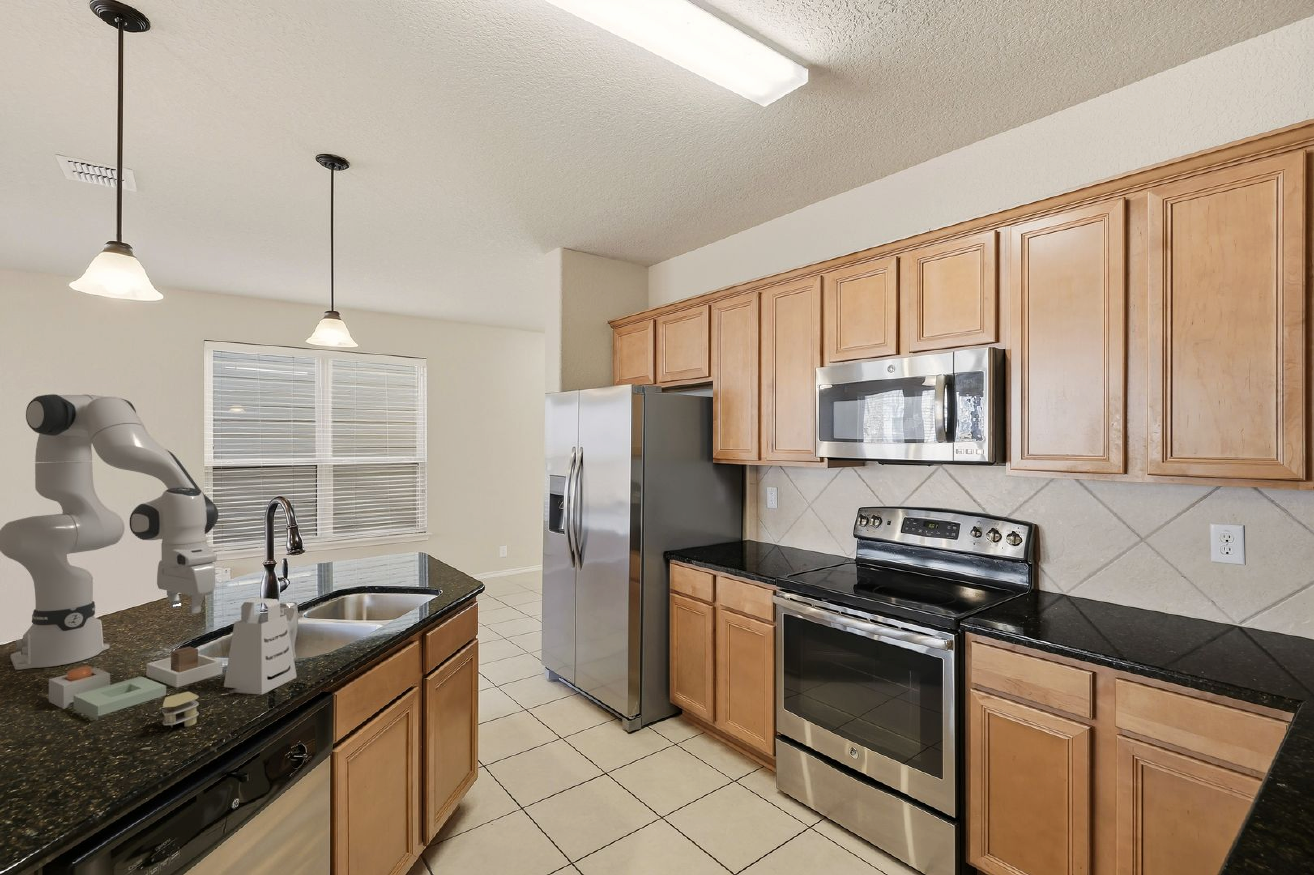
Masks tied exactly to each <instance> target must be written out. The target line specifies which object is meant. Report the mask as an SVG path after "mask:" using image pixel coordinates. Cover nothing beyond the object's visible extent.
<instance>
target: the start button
mask: <svg viewBox="0 0 1314 875" xmlns="http://www.w3.org/2000/svg"><path fill="white" fill-rule="evenodd" d="M92 668H93V667H92V666H90V665H89V666H79V667H75V668H73V669H70V670H68V671H67V674H68V681H70V682H72V681H76V680H79V679H83V678H87V677H91V676H92Z"/></svg>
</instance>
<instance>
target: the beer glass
mask: <svg viewBox="0 0 1314 875" xmlns="http://www.w3.org/2000/svg"><path fill="white" fill-rule="evenodd" d="M279 603H280V615H286V616H287V622H288V628H289V634H290V640H291V646H292V652H293V658H294V659H296V658H297V655H296V651H295V650H296V649H295V647H296V638H297V634H298V627H299V610H298V602H295V601H284V602H279ZM266 622H268V621H266ZM280 635H282V634H280ZM278 638H280V636H279V637H278ZM270 639H273V638H270ZM274 639H277V637H276V636H275V637H274ZM281 653H282V654H283V653H284V651H283V652H281ZM278 654H279V653H278ZM277 656H278V655H276V656H275V657H277ZM271 657H272V658H274V655H273V656H271ZM270 660H271V659H270Z"/></svg>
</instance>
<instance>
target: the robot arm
mask: <svg viewBox="0 0 1314 875" xmlns="http://www.w3.org/2000/svg"><path fill="white" fill-rule="evenodd" d="M25 419H26V423H27V426H29V428H30V429H31V430H33V432H34V433H36V434H38V437H37V441H36V448H35V455H34V456H35V458H34V459H35V461H34V468H35V469H34V475H35V476H34V482H35V484H34V485H35V486H34V487H35V491H36V492H37V493H38V494H39V495H40V496H41V497H43V498H45V499H48V500H51V501H53V502H57V503H58V504H59V506H60V508H61V510H62V513H57V514H45V515H44V514H43V515H34V516H28V517H24V518H19V519H17V520H12V521H9V522H7V523H6V524H4V525H3V526H2V527H1V529H0V553H1V554H3V555H4V557H7V558H9V559H11V560H13V561H15V562H18V563H19V564H20V565H22V566H23V567H24V569H26V570H27V571H28V572H29V575H30V576H31V579H32V581H33V587H34V596H35V598H34V599H35V600H34V601H35V609H33V610H32V611H33V612H32V615H31V626H30V627H29V628H28V629H27V631H25V632H24V634H23V635H22V638H20V639H16V640H15V644H14V645H15V649H17V650H18V649H22V650H19V651H16V652H14V653H11V654H10V661H11V662H12V665H13V668H14V670H15V671H17V670H18V671H19V670H26V669H35V668H49V667H58V666H61V665H62V666H63V665H68V664H69V665H70V664H72V663H73V664H74V663H76V662H81V661H84V660H87V659H90V658H93V657H95V656H97V655H99V654H101V652H103V651H106V650H108V649H110V644H109V643H104V636H103V625H102V620H101V619H99V618H96V617H95V614H96V605H95V601H94V598H93V596H94V594H93V593H94V592H93V591H94V586H93V584H94V582H93V580H94V578H93V575H92V574H91V572H90V571H88V570H87V569H85V568H82V567H80V566H75V565H72V564H70V563H69V561H68V555H70V554H75V553H77V554H78V553H84V552H90V551H91V552H92V551H96V550H100V549H104V548H108V547H110V546H113V545H116V544H117V543H118V542H120V540H121V539H122V538H123V535H124V533H125V522H124V520H123V519H122V517H121V516H120V515H119V514H118V513H116V512H115V511H112V510H110V509H109V508H107V506H105V505H104V503H103V502H101V500H100V498H99V497H98V495H97V493H96V491H95V486H94V477H93V476H94V474H93V452H92V451H93V450H92V447H93V448H94V451H95V453H96V454H97V455H98V457H99V458H100V459H101V460H102V461H103V462H104V463H105V464H107V465H109V466H111V467H113V468H115V469H120V470H123V471H130V472H136V473H140V474H143V475H147V476H150V477H154V478H155V479H158V480H159V481H160V482H162V483H163V484H164V485H165V487H166V488H167V489H166V490H164V491H163V492H162V494H161V495H160V496H159V497H157V498H155V499H153V500H149V501H147V502H144V503H140V504H139V505H137V506H136V507H135V508H134V509H133V511H132V512H131V513H130V516H129V528H130V530H131V533H132V534H133V535H134V536H135V537H136V538H138V539H140V540H141V541H142V540H143V541H157V540H162V541H161V546H160V547H161V548H160V549H161V552H160V553H161V560H160V561H159V562H158V565H157V574H156V586H157V588H158V589H159V590H163V591H166V596H167V599H168V601H169V608H170V609H173V610H176V609H179V608H181V607H182V600H181V599H180V595H179V594H184V595H188V596H190V599H191V603H190V605H189V606H188V608H189V611H188V612H189V613H190V614H198V613H201V610H202V604H203V600H204V599H205V598H204V597H205V596H209V595H212V594H213V593H214V591H215V587H216V566H215V564H214V563H215V562H216V561H217V560H218V559H217V558H218V556H217V553H216V552H215V551H214V550H212V548H211V547H210V546H209V545H208V542H207V540H208V538H207V535H206V534H208V533H209V532H210V531H211V530H213V528H214V527H215V525H216V524H217V523H218V521H219V520H218V519H219V510H218V508H217V506H216V505H215V503H214V501H212V500H211V499H210V498H209V497H208V496H207V495H206V494H205V493H204V492H203V491H202V490H201V488H200V487H199V486H198V484H197V483H196V482H195V481H194V479H193V478H192V476H191V475H190V473H189V472H188V471H187V469H186V468H185V467H184V465H183V464H182V463H181V461H180V459H178V458H177V456H176V455H175V454H174V453H173V452H171V451H169V450H168V449H167V448H164V447H163V445H162V446H161V445H160V444H159V443H158V442H157V441H156V440H155V439H154V438H153V437H152V436H151V435H150V434H149V432H148V431H147V430H146V427H145V425H144V423H143V422H142V420H141V418H140V417H139V416H138V414H137V411H136V408H135V406H134V405H133V403H131V401H129V400H126V399H124V398H121V397H116V396H102V395H94V394H60V395H59V394H56V393H55V394H54V393H53V394H52V393H51V394H43V395H42V394H41V395H38V396H35V397H34V398H33V399H32V400H31V401H30V402H29V403H28V404H27V406H26V410H25Z"/></svg>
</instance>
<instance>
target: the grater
mask: <svg viewBox="0 0 1314 875" xmlns="http://www.w3.org/2000/svg"><path fill="white" fill-rule="evenodd" d="M280 603H281V602H280V601H279V599H278V598H274V599H273V598H259V597H257V598H254V599H250V600H247V601H244V602H243V603H242V605H241V606H240V608H241V610H240V611H241V613H240V617H241V618H240V619H239V620H237V621H235V622H234V624H233V629H232V634H231V636H232V637H231V642H230V648H229V654H228V658H227V665H226V671H225V676H224V677H225V679H224V682H223V688H232V689H230V690H226V693H240V694H248V695H249V694H250V695H260V696H261V695H265V694H266V693H268V692H270V691H272V690H274V689H275V688H278V687H280V686H282V685H284V684H286V683H288V682H290V681H292V680H294V679H296V678H297V676H298V675H297V670H296V665H295V658H293V652H292V646H291V640H290V634H289V628H288V622H287V616H286V615H280ZM255 604H265V606H266V608H267V613H257V614H255ZM267 621H268V622H267ZM280 634H282V635H280ZM275 636H276V637H277V639H274V637H275ZM279 636H280V638H278V637H279ZM270 638H273V639H270ZM283 651H284V653H283V654H282V653H281V652H283ZM278 653H279V654H278ZM273 655H274V658H272V657H271V656H273ZM276 655H278V656H277V657H275V656H276ZM270 659H271V660H270ZM273 676H275V677H274V678H272V679H268V677H273Z"/></svg>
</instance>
